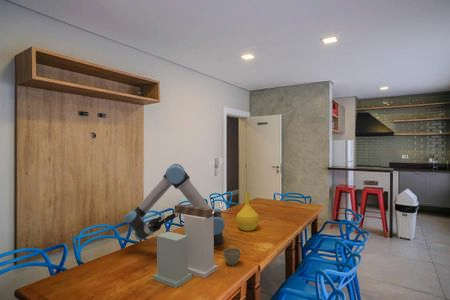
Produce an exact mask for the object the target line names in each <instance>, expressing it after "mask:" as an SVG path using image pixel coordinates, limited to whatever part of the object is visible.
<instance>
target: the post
mask: <svg viewBox="0 0 450 300" xmlns="http://www.w3.org/2000/svg"><path fill="white" fill-rule="evenodd" d="M156 263H157V264H156V266H157V267H156V273H155V274H153V275H152V280H154V281H156V282H159V283H162V284H163V285H166V286H170V287H172V288H175V289H177V288H179V287H181V286H182V285H184V284H185V283H186V282H188V281H189V280H191V279H193V274H191V273H188V236H186V235H184V234H181V233H176V232H171V231H166V232H162V233H161V234H157V235H156Z"/></svg>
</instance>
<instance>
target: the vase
mask: <svg viewBox="0 0 450 300" xmlns="http://www.w3.org/2000/svg"><path fill="white" fill-rule="evenodd" d="M235 218H236V219H235V220H236V223H237V225H238V227H239V228H240V229H241V231H243V232H244V231H245V232H251V231H254V230H255V229H256V228H257V226H258V224H259V220H260V216H259V214H258V213H257V211H256V210H254V209H253V207H252V206H251V204H250V193H249V192H245V203H244V206H243V207H242V208H241V209H240V211H239V212H238V213H237V214H236V217H235Z"/></svg>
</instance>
